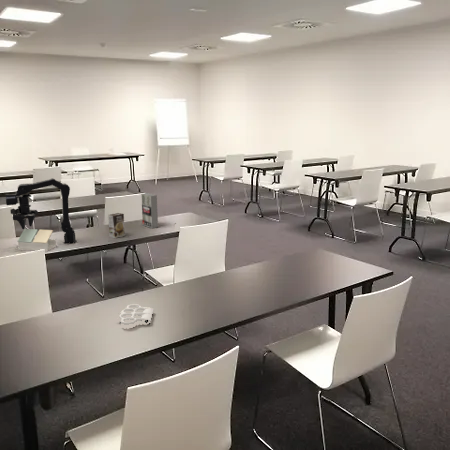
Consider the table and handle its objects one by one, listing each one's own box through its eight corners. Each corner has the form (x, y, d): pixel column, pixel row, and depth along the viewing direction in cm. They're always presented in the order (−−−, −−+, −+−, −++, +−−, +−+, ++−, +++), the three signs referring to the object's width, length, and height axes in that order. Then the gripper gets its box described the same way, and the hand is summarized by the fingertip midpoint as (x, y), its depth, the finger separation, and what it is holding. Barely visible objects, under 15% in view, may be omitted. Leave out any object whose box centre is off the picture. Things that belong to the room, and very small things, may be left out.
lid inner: (53, 230, 284) (52, 230, 284) (46, 243, 278) (46, 242, 277) (39, 230, 286) (39, 229, 285) (33, 242, 279) (32, 241, 279)
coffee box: (115, 238, 308) (113, 215, 304) (109, 237, 312) (107, 214, 308) (125, 235, 315) (124, 213, 311) (119, 234, 319) (118, 212, 315)
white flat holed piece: (149, 329, 176) (112, 330, 175) (154, 310, 194) (121, 311, 193) (149, 322, 175) (112, 322, 175) (154, 303, 193) (120, 304, 192)
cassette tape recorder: (141, 225, 345) (140, 193, 339) (148, 224, 349) (147, 193, 343) (151, 228, 335) (150, 196, 329) (158, 227, 339) (157, 195, 333)
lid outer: (38, 230, 286) (37, 229, 286) (31, 242, 279) (30, 241, 279) (25, 229, 288) (24, 228, 287) (17, 241, 281) (17, 241, 280)
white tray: (57, 246, 290) (56, 238, 288) (46, 251, 278) (46, 243, 277) (29, 244, 293) (28, 237, 292) (18, 249, 281) (17, 242, 280)
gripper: (21, 201, 291) (24, 223, 295) (3, 206, 273) (6, 230, 277) (37, 201, 289) (39, 224, 293) (19, 207, 272) (22, 231, 275)
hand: (27, 227), depth 285 cm, fingers open, 7 cm apart
